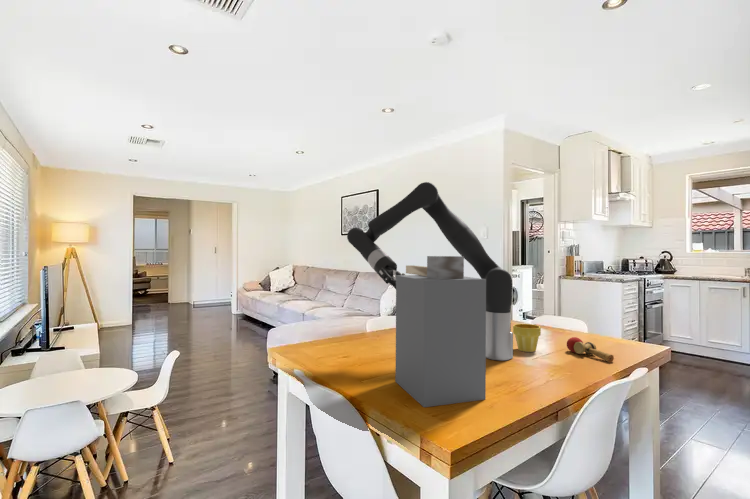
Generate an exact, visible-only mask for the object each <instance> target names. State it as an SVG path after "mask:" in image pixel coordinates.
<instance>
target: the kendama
mask: <svg viewBox="0 0 750 499" xmlns="http://www.w3.org/2000/svg"><path fill="white" fill-rule="evenodd" d="M566 348H567V350H569V351H570V352H572V353H575V354H579V355H581V354H584V353H585V354H586V355H588V354H589V356H595V357H596V358H599V359H602V360H603V361H605V362H607V363H612V362H613V361H614V355H613V354H610V353H607V352H605V351H602V350H598V349H597V347H596V344H595V342H592V341H591V342H590V341H587V342H585V343H584V341H583V340H582V339H581V338H579V337H577V336H576V337H575V336H572V337H569V338H568V339H567V341H566Z"/></svg>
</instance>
